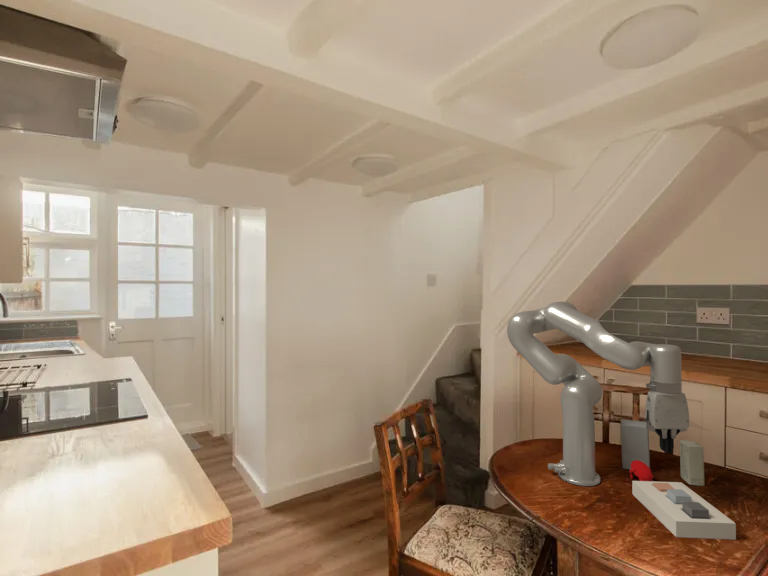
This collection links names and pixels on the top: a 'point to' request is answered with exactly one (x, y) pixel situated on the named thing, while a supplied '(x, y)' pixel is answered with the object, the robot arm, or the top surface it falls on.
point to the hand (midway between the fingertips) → (666, 450)
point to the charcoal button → (695, 510)
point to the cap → (641, 471)
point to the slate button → (678, 496)
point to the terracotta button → (662, 486)
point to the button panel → (683, 513)
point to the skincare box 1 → (634, 442)
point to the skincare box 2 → (692, 462)
